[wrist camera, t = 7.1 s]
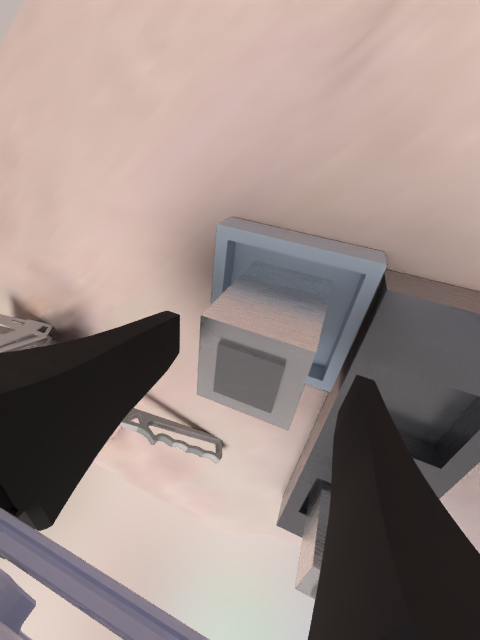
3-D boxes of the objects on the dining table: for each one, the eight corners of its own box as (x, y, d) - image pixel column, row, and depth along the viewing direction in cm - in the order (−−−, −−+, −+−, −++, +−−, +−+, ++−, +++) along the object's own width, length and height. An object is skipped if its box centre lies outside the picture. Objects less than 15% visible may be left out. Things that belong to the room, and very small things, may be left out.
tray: (384, 251, 13) (387, 264, 11) (333, 371, 17) (330, 392, 15) (231, 216, 14) (217, 224, 13) (219, 333, 18) (207, 348, 17)
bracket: (-13, 303, 23) (-119, 413, 16) (224, 358, 30) (227, 454, 23) (-8, 329, 25) (-101, 438, 18) (214, 375, 32) (213, 469, 25)
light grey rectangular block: (333, 280, 13) (315, 356, 9) (311, 345, 16) (287, 434, 11) (255, 260, 14) (198, 317, 9) (244, 324, 17) (194, 397, 12)
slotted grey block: (384, 489, 19) (392, 611, 14) (362, 515, 21) (362, 629, 16) (324, 464, 20) (311, 570, 15) (309, 491, 22) (293, 592, 17)
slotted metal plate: (563, 312, 11) (606, 346, 9) (363, 532, 24) (363, 567, 22) (383, 268, 13) (387, 290, 11) (283, 495, 25) (276, 525, 23)
